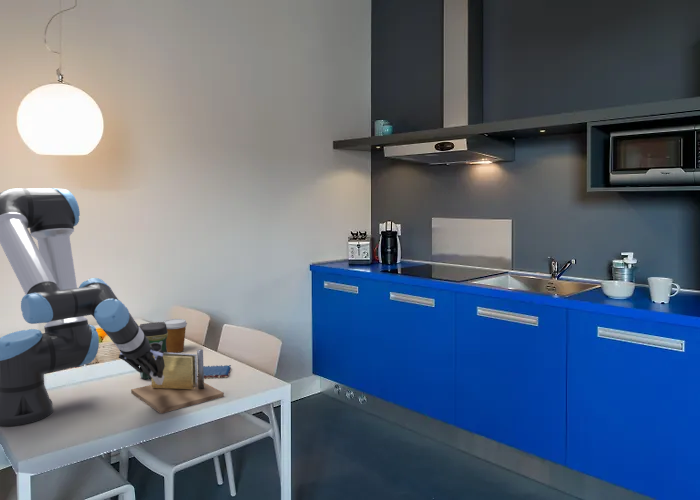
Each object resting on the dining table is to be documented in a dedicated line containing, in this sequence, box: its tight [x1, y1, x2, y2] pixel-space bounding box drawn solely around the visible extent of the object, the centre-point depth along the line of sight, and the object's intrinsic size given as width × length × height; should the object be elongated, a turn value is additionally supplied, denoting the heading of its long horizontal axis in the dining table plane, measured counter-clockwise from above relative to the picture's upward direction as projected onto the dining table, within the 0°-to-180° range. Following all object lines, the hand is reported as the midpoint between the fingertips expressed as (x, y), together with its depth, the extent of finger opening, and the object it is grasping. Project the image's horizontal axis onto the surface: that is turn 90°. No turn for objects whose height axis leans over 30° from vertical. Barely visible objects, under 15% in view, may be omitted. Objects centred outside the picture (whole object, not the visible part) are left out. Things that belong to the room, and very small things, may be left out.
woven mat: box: [197, 364, 232, 380], centre depth 193 cm, size 10×11×2 cm
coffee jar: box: [138, 321, 168, 380], centre depth 190 cm, size 10×8×19 cm
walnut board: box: [130, 378, 225, 414], centre depth 173 cm, size 20×22×1 cm
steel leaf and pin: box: [163, 348, 205, 390], centre depth 177 cm, size 16×3×14 cm, turn 77°
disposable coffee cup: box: [162, 318, 188, 353], centre depth 221 cm, size 10×10×12 cm
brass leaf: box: [151, 355, 193, 389], centre depth 174 cm, size 13×1×10 cm, turn 84°
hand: (160, 380), depth 170 cm, fingers closed
